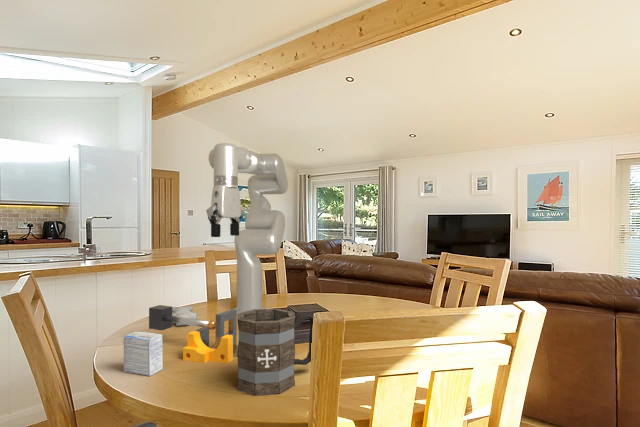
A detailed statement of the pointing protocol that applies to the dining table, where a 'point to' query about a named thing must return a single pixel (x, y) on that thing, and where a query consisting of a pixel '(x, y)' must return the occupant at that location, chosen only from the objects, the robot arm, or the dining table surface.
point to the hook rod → (173, 319)
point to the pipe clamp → (207, 349)
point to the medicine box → (143, 353)
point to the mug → (268, 350)
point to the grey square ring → (222, 329)
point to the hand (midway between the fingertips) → (225, 236)
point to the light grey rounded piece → (184, 313)
